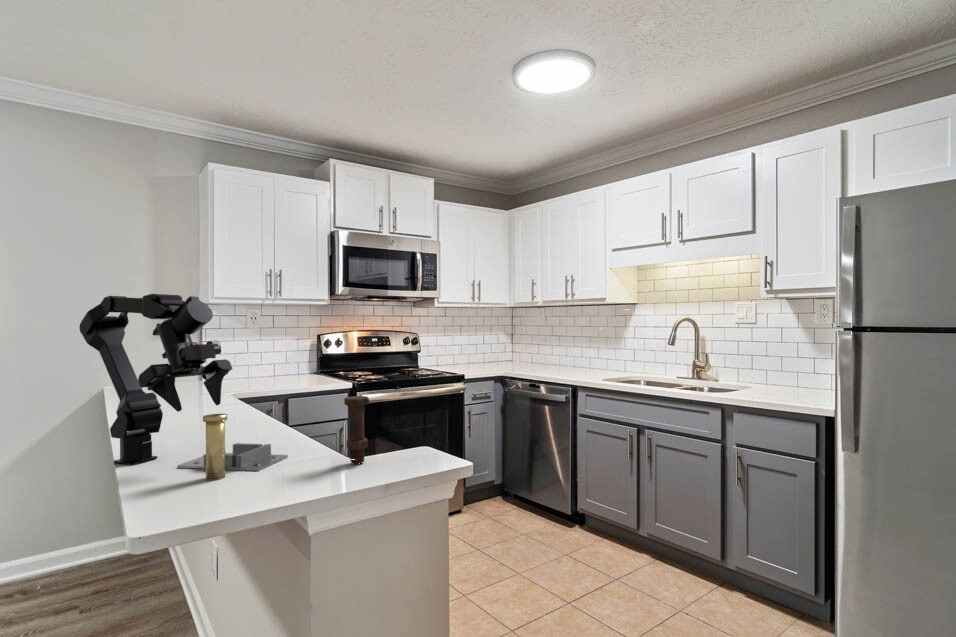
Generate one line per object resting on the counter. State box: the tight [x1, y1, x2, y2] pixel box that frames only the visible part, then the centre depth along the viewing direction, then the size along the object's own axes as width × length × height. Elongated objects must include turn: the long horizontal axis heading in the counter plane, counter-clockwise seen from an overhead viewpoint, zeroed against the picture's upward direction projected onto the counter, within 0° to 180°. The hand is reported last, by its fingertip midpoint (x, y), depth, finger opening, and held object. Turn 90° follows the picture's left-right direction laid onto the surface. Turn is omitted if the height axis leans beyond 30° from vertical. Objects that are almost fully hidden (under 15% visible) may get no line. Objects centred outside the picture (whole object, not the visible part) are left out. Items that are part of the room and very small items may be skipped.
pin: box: [202, 413, 228, 481], centre depth 110 cm, size 5×5×13 cm
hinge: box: [176, 442, 289, 472], centre depth 122 cm, size 20×12×3 cm, turn 80°
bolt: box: [343, 395, 370, 465], centre depth 120 cm, size 6×5×15 cm
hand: (199, 407), depth 115 cm, fingers open, 9 cm apart
